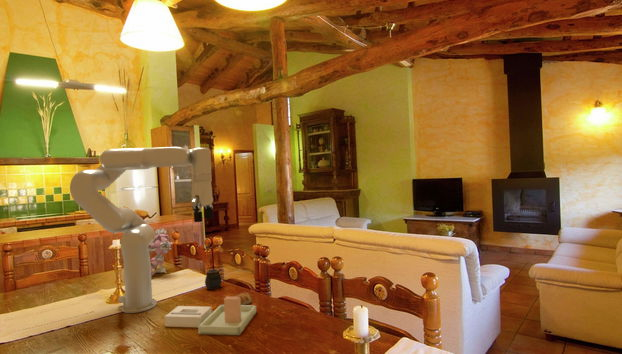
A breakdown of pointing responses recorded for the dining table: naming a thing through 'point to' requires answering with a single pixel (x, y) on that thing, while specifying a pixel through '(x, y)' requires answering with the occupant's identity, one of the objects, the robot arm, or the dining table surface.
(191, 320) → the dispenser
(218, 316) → the tray
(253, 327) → the dining table surface
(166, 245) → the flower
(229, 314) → the tan flat block
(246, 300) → the pastry
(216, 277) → the mate gourd
